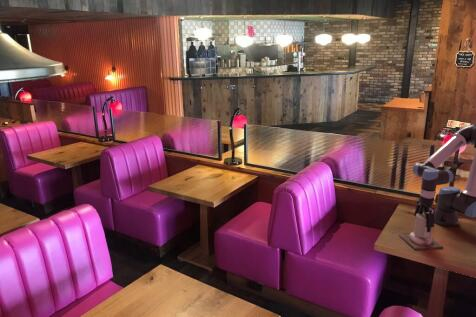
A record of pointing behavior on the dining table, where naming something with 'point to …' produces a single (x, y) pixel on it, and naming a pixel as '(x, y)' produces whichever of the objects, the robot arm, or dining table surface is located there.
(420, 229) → the can
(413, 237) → the stand
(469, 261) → the dining table surface
